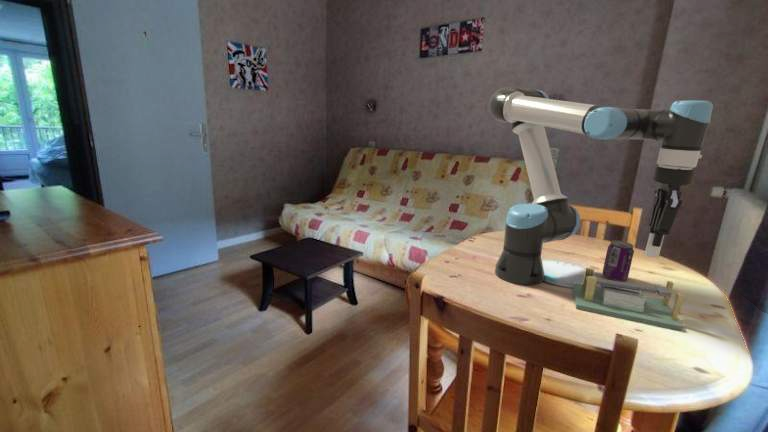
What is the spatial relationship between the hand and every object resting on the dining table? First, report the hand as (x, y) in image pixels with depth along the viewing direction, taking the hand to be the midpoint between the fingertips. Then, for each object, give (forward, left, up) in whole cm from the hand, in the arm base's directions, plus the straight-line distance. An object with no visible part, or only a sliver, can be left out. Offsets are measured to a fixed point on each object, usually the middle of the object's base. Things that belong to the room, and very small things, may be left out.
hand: (651, 256), depth 90 cm
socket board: (-4, 0, -16) cm, 16 cm away
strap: (-4, 0, -10) cm, 11 cm away
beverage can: (-3, +21, -16) cm, 26 cm away
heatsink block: (-5, 0, -14) cm, 15 cm away
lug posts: (-3, 0, -14) cm, 15 cm away
